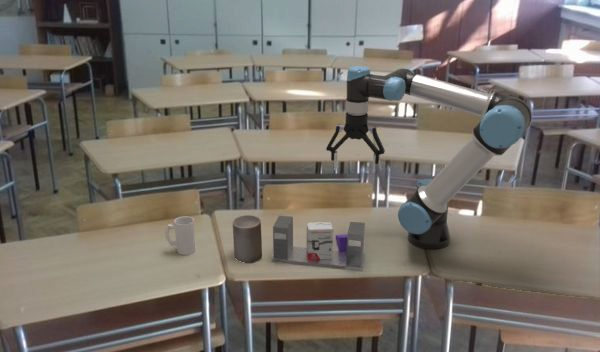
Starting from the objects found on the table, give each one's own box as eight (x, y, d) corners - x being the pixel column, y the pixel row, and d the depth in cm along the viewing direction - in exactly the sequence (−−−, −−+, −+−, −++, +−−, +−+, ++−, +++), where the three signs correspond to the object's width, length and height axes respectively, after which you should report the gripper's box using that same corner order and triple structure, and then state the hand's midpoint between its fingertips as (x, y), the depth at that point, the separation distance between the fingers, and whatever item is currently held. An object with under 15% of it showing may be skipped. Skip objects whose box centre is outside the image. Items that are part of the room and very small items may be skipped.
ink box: (307, 260, 195) (307, 229, 191) (306, 253, 200) (306, 222, 195) (332, 259, 196) (333, 228, 191) (330, 252, 200) (331, 221, 196)
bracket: (358, 254, 202) (359, 237, 199) (339, 254, 202) (339, 237, 199) (353, 238, 213) (354, 221, 211) (335, 238, 213) (336, 222, 210)
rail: (364, 256, 200) (366, 222, 195) (362, 271, 191) (364, 235, 186) (278, 248, 205) (277, 214, 200) (271, 261, 196) (271, 227, 191)
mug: (195, 245, 207) (193, 215, 202) (196, 254, 201) (194, 223, 196) (167, 248, 205) (164, 217, 201) (167, 257, 199) (164, 226, 194)
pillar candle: (260, 248, 205) (259, 210, 199) (263, 262, 196) (262, 222, 190) (233, 251, 203) (231, 213, 198) (235, 265, 194) (232, 225, 189)
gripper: (394, 111, 196) (390, 169, 204) (322, 107, 201) (321, 164, 209) (393, 117, 190) (389, 177, 197) (318, 113, 194) (317, 171, 202)
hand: (354, 170), depth 203 cm, fingers open, 13 cm apart
